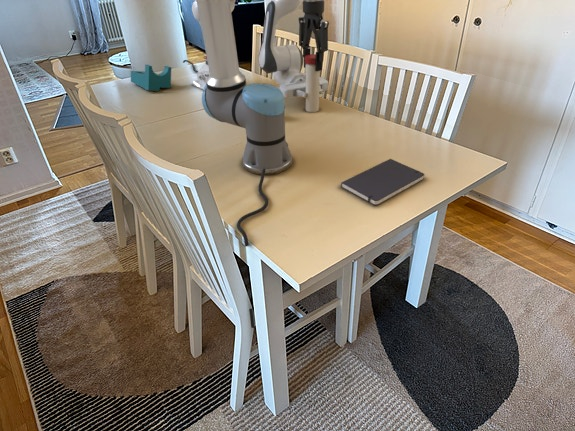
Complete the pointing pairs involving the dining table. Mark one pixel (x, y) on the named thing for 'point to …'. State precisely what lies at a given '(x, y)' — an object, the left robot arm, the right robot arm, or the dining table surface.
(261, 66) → the left robot arm
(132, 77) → the teal notched cradle block
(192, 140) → the dining table surface
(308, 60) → the lid
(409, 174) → the notebook
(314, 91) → the jar
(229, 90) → the right robot arm
